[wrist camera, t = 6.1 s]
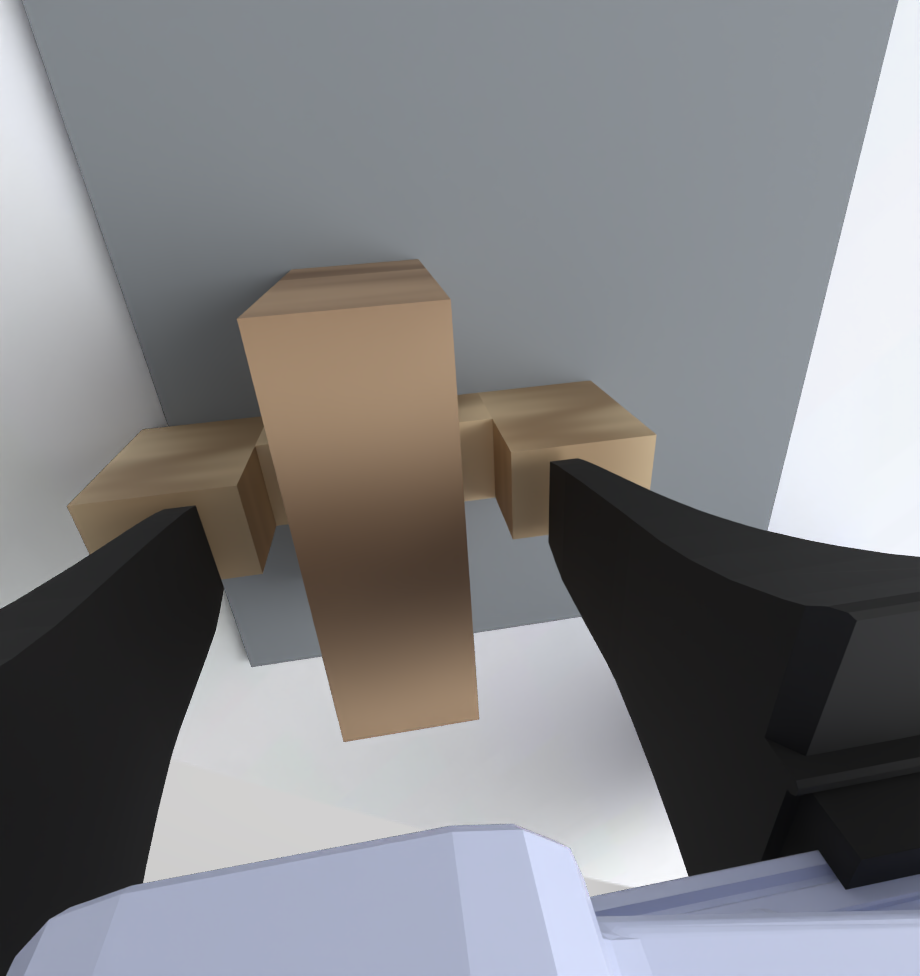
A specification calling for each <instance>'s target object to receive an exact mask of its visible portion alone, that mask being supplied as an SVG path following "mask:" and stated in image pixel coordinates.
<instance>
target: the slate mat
mask: <svg viewBox="0 0 920 976" xmlns="http://www.w3.org/2000/svg"><path fill="white" fill-rule="evenodd" d="M22 3H23V5H24V8H25V11H26V14H27V17H28V20H29V23H30V26H31V29H32V32H33V34H34V37H35V40H36V43H37V46H38V49H39V52H40V55H41V58H42V61H43V64H44V66H45V69H46V72H47V75H48V78H49V81H50V84H51V87H52V90H53V93H54V95H55V98H56V101H57V104H58V107H59V110H60V113H61V116H62V119H63V122H64V124H65V127H66V130H67V133H68V136H69V139H70V142H71V145H72V148H73V151H74V154H75V156H76V159H77V162H78V165H79V168H80V171H81V174H82V177H83V180H84V183H85V185H86V188H87V191H88V194H89V197H90V200H91V203H92V206H93V209H94V212H95V215H96V217H97V220H98V223H99V226H100V229H101V232H102V235H103V238H104V241H105V244H106V246H107V249H108V252H109V255H110V258H111V261H112V264H113V267H114V270H115V273H116V275H117V278H118V281H119V284H120V287H121V290H122V293H123V296H124V299H125V302H126V305H127V307H128V310H129V313H130V316H131V319H132V322H133V325H134V328H135V331H136V334H137V336H138V339H139V342H140V345H141V348H142V351H143V354H144V357H145V360H146V363H147V365H148V368H149V371H150V374H151V377H152V380H153V383H154V386H155V389H156V392H157V395H158V397H159V400H160V403H161V406H162V409H163V412H164V415H165V418H166V421H167V424H168V426H178V425H188V424H197V423H206V422H215V421H224V420H233V419H242V418H252V417H261V412H260V408H259V404H258V400H257V396H256V392H255V389H254V385H253V381H252V377H251V373H250V369H249V365H248V361H247V357H246V353H245V349H244V345H243V341H242V337H241V333H240V329H239V325H238V321H237V318H238V317H239V316H240V315H242V314H243V313H244V312H245V311H246V310H247V309H248V308H249V307H250V306H252V305H253V304H254V303H255V302H256V301H257V300H258V299H259V298H260V297H262V296H263V295H264V294H265V293H266V292H267V291H268V290H269V289H270V288H272V287H273V286H274V285H275V284H276V283H277V282H278V281H279V280H280V279H282V278H283V277H284V276H285V275H286V274H287V273H288V272H289V271H290V270H292V269H304V268H316V267H329V266H341V265H353V264H365V263H377V262H389V261H401V260H413V259H419V261H420V262H421V263H422V264H423V265H424V267H425V268H426V269H427V270H428V272H429V273H430V274H431V275H432V277H433V278H434V279H435V280H436V282H437V283H438V284H439V285H440V287H441V288H442V289H443V290H444V292H445V293H446V294H447V295H448V297H449V298H450V299H451V310H452V325H453V340H454V354H455V369H456V384H457V395H462V394H471V393H480V392H489V391H498V390H508V389H517V388H526V387H535V386H544V385H553V384H562V383H572V382H581V381H590V380H591V381H592V382H593V383H594V384H596V385H597V386H598V387H599V388H600V389H602V390H603V391H604V392H605V393H606V394H608V395H609V396H610V397H611V398H613V399H614V400H615V401H616V402H617V403H619V404H620V405H621V406H622V407H623V408H625V409H626V410H627V411H628V412H630V413H631V414H632V415H633V416H634V417H636V418H637V419H638V420H639V421H640V422H642V423H643V424H644V425H645V426H647V427H648V428H649V429H650V430H651V431H653V432H654V433H655V434H656V444H655V452H654V461H653V469H652V478H651V486H650V490H651V491H653V492H655V493H658V494H660V495H662V496H665V497H667V498H670V499H672V500H675V501H677V502H680V503H682V504H685V505H687V506H690V507H692V508H695V509H698V510H700V511H703V512H706V513H709V514H712V515H715V516H718V517H721V518H724V519H728V520H731V521H734V522H737V523H741V524H744V525H747V526H751V527H755V528H758V529H762V530H766V531H767V530H768V526H769V522H770V518H771V514H772V510H773V505H774V501H775V497H776V493H777V489H778V485H779V481H780V477H781V473H782V469H783V465H784V461H785V457H786V453H787V449H788V445H789V441H790V437H791V433H792V429H793V425H794V421H795V416H796V412H797V408H798V404H799V400H800V396H801V392H802V388H803V384H804V380H805V376H806V372H807V368H808V364H809V360H810V356H811V352H812V348H813V344H814V340H815V336H816V331H817V327H818V323H819V319H820V315H821V311H822V307H823V303H824V299H825V295H826V291H827V287H828V283H829V279H830V275H831V271H832V267H833V263H834V259H835V255H836V251H837V246H838V242H839V238H840V234H841V230H842V226H843V222H844V218H845V214H846V210H847V206H848V202H849V198H850V194H851V190H852V186H853V182H854V178H855V174H856V170H857V166H858V161H859V157H860V153H861V149H862V145H863V141H864V137H865V133H866V129H867V125H868V121H869V117H870V113H871V109H872V105H873V101H874V97H875V93H876V89H877V85H878V81H879V77H880V72H881V68H882V64H883V60H884V56H885V52H886V48H887V44H888V40H889V36H890V32H891V28H892V24H893V20H894V16H895V12H896V8H897V4H898V0H22ZM464 503H465V517H466V532H467V547H468V562H469V577H470V592H471V606H472V621H473V633H478V632H484V631H491V630H497V629H504V628H510V627H517V626H523V625H530V624H536V623H543V622H549V621H556V620H562V619H569V618H575V617H582V616H581V615H580V613H579V611H578V609H577V607H576V605H575V604H574V602H573V600H572V598H571V596H570V594H569V592H568V590H567V589H566V587H565V585H564V583H563V581H562V579H561V576H560V573H559V571H558V568H557V566H556V563H555V560H554V557H553V554H552V551H551V549H550V546H549V543H548V536H549V535H543V536H535V537H528V538H521V539H514V540H513V539H512V536H511V534H510V531H509V529H508V527H507V524H506V522H505V519H504V517H503V515H502V512H501V510H500V508H499V505H498V503H497V500H496V498H488V499H480V500H472V501H465V502H464ZM222 583H223V586H224V589H225V592H226V595H227V598H228V601H229V604H230V607H231V609H232V612H233V615H234V618H235V621H236V624H237V627H238V630H239V633H240V636H241V638H242V641H243V644H244V647H245V650H246V653H247V656H248V659H249V662H250V665H251V667H256V666H262V665H269V664H275V663H282V662H288V661H295V660H301V659H308V658H314V657H321V656H322V654H321V650H320V646H319V642H318V638H317V634H316V630H315V626H314V622H313V618H312V614H311V610H310V606H309V603H308V599H307V595H306V591H305V587H304V583H303V579H302V575H301V571H300V567H299V563H298V559H297V555H296V551H295V547H294V543H293V539H292V535H291V531H290V527H289V524H286V525H279V526H276V529H275V533H274V536H273V540H272V543H271V547H270V550H269V554H268V557H267V561H266V564H265V568H264V571H263V574H258V575H251V576H244V577H236V578H229V579H222Z"/></svg>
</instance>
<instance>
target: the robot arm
mask: <svg viewBox="0 0 920 976" xmlns="http://www.w3.org/2000/svg"><path fill="white" fill-rule="evenodd" d="M548 543H549V546H550V549H551V551H552V554H553V557H554V560H555V563H556V566H557V568H558V571H559V573H560V576H561V579H562V581H563V583H564V585H565V587H566V589H567V590H568V592H569V594H570V596H571V598H572V600H573V602H574V604H575V605H576V607H577V609H578V611H579V613H580V615H581V616H582V618H583V620H584V622H585V624H586V626H587V627H588V629H589V631H590V633H591V635H592V637H593V638H594V640H595V642H596V644H597V646H598V648H599V649H600V651H601V653H602V655H603V657H604V658H605V660H606V662H607V664H608V666H609V668H610V670H611V672H612V674H613V677H614V679H615V681H616V683H617V685H618V688H619V690H620V693H621V695H622V697H623V700H624V702H625V705H626V707H627V710H628V712H629V715H630V717H631V719H632V722H633V724H634V727H635V729H636V732H637V735H638V737H639V740H640V742H641V745H642V748H643V750H644V753H645V755H646V758H647V760H648V763H649V766H650V768H651V771H652V773H653V776H654V779H655V782H656V784H657V787H658V790H659V793H660V796H661V798H662V801H663V804H664V807H665V809H666V812H667V815H668V818H669V821H670V823H671V826H672V829H673V832H674V834H675V837H676V840H677V843H678V846H679V849H680V852H681V855H682V858H683V861H684V864H685V867H686V870H687V873H688V876H689V877H684V878H680V879H675V880H670V881H665V882H660V883H655V884H650V885H646V886H641V887H636V888H631V889H627V890H621V891H616V892H612V893H607V894H602V895H597V896H593V897H590V896H589V893H588V890H587V886H586V883H585V880H584V878H583V876H582V873H581V871H580V869H579V867H578V864H577V862H576V860H575V858H574V855H573V853H572V851H571V849H570V848H568V847H567V846H565V845H563V844H561V843H559V842H557V841H555V840H552V839H550V838H547V837H545V836H542V835H540V834H537V833H535V832H532V831H530V830H527V829H524V828H522V827H519V826H517V825H514V824H490V825H457V826H447V827H441V828H436V829H431V830H425V831H420V832H415V833H409V834H404V835H399V836H393V837H388V838H383V839H377V840H372V841H367V842H362V843H356V844H351V845H345V846H340V847H335V848H330V849H324V850H319V851H313V852H308V853H303V854H297V855H292V856H287V857H281V858H276V859H271V860H265V861H260V862H255V863H249V864H244V865H239V866H234V867H228V868H223V869H217V870H213V871H207V872H201V873H196V874H191V875H185V876H180V877H175V878H169V879H164V880H158V881H153V882H149V883H143V880H144V875H145V869H146V864H147V860H148V855H149V850H150V846H151V841H152V837H153V832H154V827H155V822H156V818H157V813H158V809H159V805H160V800H161V797H162V792H163V788H164V784H165V780H166V776H167V772H168V768H169V764H170V760H171V756H172V753H173V749H174V746H175V743H176V740H177V737H178V734H179V730H180V728H181V725H182V722H183V720H184V717H185V714H186V711H187V709H188V706H189V703H190V701H191V698H192V695H193V692H194V690H195V687H196V684H197V682H198V679H199V676H200V673H201V671H202V668H203V665H204V662H205V660H206V657H207V654H208V651H209V648H210V646H211V643H212V640H213V637H214V634H215V631H216V627H217V622H218V617H219V613H220V607H221V602H222V596H223V590H224V586H223V583H222V580H221V577H220V574H219V572H218V569H217V566H216V563H215V560H214V557H213V554H212V551H211V548H210V545H209V542H208V540H207V537H206V534H205V531H204V528H203V525H202V522H201V519H200V516H199V513H198V511H197V508H196V505H194V506H186V507H178V508H170V509H163V510H161V511H159V512H157V513H155V514H153V515H151V516H149V517H148V518H146V519H144V520H143V521H141V522H139V523H138V524H136V525H135V526H133V527H131V528H130V529H128V530H127V531H125V532H124V533H122V534H121V535H119V536H118V537H116V538H115V539H113V540H112V541H110V542H108V543H107V544H105V545H104V546H102V547H101V548H99V549H98V550H96V551H95V552H93V553H92V554H90V555H89V556H87V557H86V558H84V559H83V560H81V561H80V562H78V563H76V564H75V565H73V566H72V567H70V568H68V569H67V570H65V571H63V572H62V573H60V574H59V575H57V576H55V577H54V578H52V579H50V580H49V581H47V582H46V583H44V584H42V585H41V586H39V587H37V588H36V589H34V590H32V591H31V592H29V593H28V594H26V595H24V596H23V597H21V598H19V599H17V600H16V601H14V602H12V603H10V604H9V605H7V606H5V607H3V608H1V609H0V976H920V557H915V556H905V555H895V554H887V553H880V552H874V551H867V550H861V549H854V548H848V547H842V546H836V545H830V544H825V543H820V542H814V541H809V540H805V539H800V538H796V537H792V536H787V535H783V534H778V533H774V532H770V531H766V530H762V529H758V528H755V527H751V526H747V525H744V524H741V523H737V522H734V521H731V520H728V519H724V518H721V517H718V516H715V515H712V514H709V513H706V512H703V511H700V510H698V509H695V508H692V507H690V506H687V505H685V504H682V503H680V502H677V501H675V500H672V499H670V498H667V497H665V496H662V495H660V494H658V493H655V492H653V491H651V490H649V489H646V488H644V487H642V486H640V485H638V484H636V483H633V482H631V481H629V480H627V479H625V478H623V477H621V476H619V475H616V474H614V473H612V472H610V471H608V470H606V469H604V468H602V467H599V466H597V465H595V464H593V463H590V462H588V461H585V460H582V459H579V458H575V459H567V460H558V461H550V478H549V536H548Z"/></svg>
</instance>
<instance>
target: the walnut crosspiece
mask: <svg viewBox="0 0 920 976" xmlns="http://www.w3.org/2000/svg"><path fill="white" fill-rule="evenodd" d="M237 321H238V325H239V329H240V333H241V337H242V341H243V345H244V349H245V353H246V357H247V361H248V365H249V369H250V373H251V377H252V381H253V385H254V389H255V392H256V396H257V400H258V404H259V408H260V412H261V416H262V420H263V424H264V428H265V432H266V436H267V440H268V444H269V448H270V452H271V456H272V460H273V464H274V468H275V472H276V476H277V480H278V484H279V488H280V492H281V496H282V499H283V503H284V507H285V511H286V515H287V519H288V523H289V527H290V531H291V535H292V539H293V543H294V547H295V551H296V555H297V559H298V563H299V567H300V571H301V575H302V579H303V583H304V587H305V591H306V595H307V599H308V603H309V606H310V610H311V614H312V618H313V622H314V626H315V630H316V634H317V638H318V642H319V646H320V650H321V654H322V658H323V662H324V666H325V670H326V674H327V678H328V682H329V686H330V690H331V694H332V698H333V702H334V706H335V710H336V713H337V717H338V721H339V725H340V729H341V733H342V737H343V741H344V742H347V741H353V740H359V739H365V738H371V737H377V736H383V735H389V734H395V733H401V732H407V731H413V730H419V729H424V728H430V727H436V726H442V725H448V724H454V723H460V722H466V721H472V720H478V719H479V710H478V695H477V680H476V666H475V651H474V636H473V621H472V606H471V592H470V577H469V562H468V547H467V532H466V517H465V503H464V488H463V473H462V458H461V443H460V428H459V414H458V399H457V384H456V369H455V354H454V340H453V325H452V310H451V299H450V298H449V297H448V295H447V294H446V293H445V292H444V290H443V289H442V288H441V287H440V285H439V284H438V283H437V282H436V280H435V279H434V278H433V277H432V275H431V274H430V273H429V272H428V270H427V269H426V268H425V267H424V265H423V264H422V263H421V262H420V261H419V259H413V260H401V261H389V262H377V263H365V264H353V265H341V266H329V267H316V268H304V269H292V270H290V271H289V272H288V273H287V274H286V275H285V276H284V277H283V278H282V279H280V280H279V281H278V282H277V283H276V284H275V285H274V286H273V287H272V288H270V289H269V290H268V291H267V292H266V293H265V294H264V295H263V296H262V297H260V298H259V299H258V300H257V301H256V302H255V303H254V304H253V305H252V306H250V307H249V308H248V309H247V310H246V311H245V312H244V313H243V314H242V315H240V316H239V317H238V318H237Z"/></svg>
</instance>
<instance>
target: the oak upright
mask: <svg viewBox="0 0 920 976" xmlns="http://www.w3.org/2000/svg"><path fill="white" fill-rule="evenodd" d="M457 399H458V414H459V428H460V443H461V458H462V473H463V488H464V502H465V501H472V500H480V499H488V498H496V500H497V503H498V505H499V508H500V510H501V512H502V515H503V517H504V519H505V522H506V524H507V527H508V529H509V531H510V534H511V536H512V539H513V540H514V539H521V538H528V537H535V536H543V535H549V478H550V461H558V460H567V459H575V458H579V459H582V460H585V461H588V462H590V463H593V464H595V465H597V466H599V467H602V468H604V469H606V470H608V471H610V472H612V473H614V474H616V475H619V476H621V477H623V478H625V479H627V480H629V481H631V482H633V483H636V484H638V485H640V486H642V487H644V488H646V489H649V490H650V486H651V478H652V469H653V461H654V452H655V444H656V434H655V433H654V432H653V431H651V430H650V429H649V428H648V427H647V426H645V425H644V424H643V423H642V422H640V421H639V420H638V419H637V418H636V417H634V416H633V415H632V414H631V413H630V412H628V411H627V410H626V409H625V408H623V407H622V406H621V405H620V404H619V403H617V402H616V401H615V400H614V399H613V398H611V397H610V396H609V395H608V394H606V393H605V392H604V391H603V390H602V389H600V388H599V387H598V386H597V385H596V384H594V383H593V382H592V381H591V380H590V381H581V382H572V383H562V384H553V385H544V386H535V387H526V388H517V389H508V390H498V391H489V392H480V393H471V394H462V395H457ZM194 505H196V508H197V511H198V513H199V516H200V519H201V522H202V525H203V528H204V531H205V534H206V537H207V540H208V542H209V545H210V548H211V551H212V554H213V557H214V560H215V563H216V566H217V569H218V572H219V574H220V577H221V580H222V579H229V578H236V577H244V576H251V575H258V574H263V571H264V568H265V564H266V561H267V557H268V554H269V550H270V547H271V543H272V540H273V536H274V533H275V529H276V526H279V525H286V524H289V523H288V519H287V515H286V511H285V507H284V503H283V499H282V496H281V492H280V488H279V484H278V480H277V476H276V472H275V468H274V464H273V460H272V456H271V452H270V448H269V444H268V440H267V436H266V432H265V428H264V424H263V420H262V416H261V417H252V418H242V419H233V420H224V421H215V422H206V423H197V424H188V425H178V426H169V427H160V428H151V429H142V430H141V431H140V432H139V433H138V434H137V435H136V436H135V437H134V438H133V439H132V440H131V441H130V443H129V444H128V445H127V446H126V447H125V448H124V449H123V450H122V451H121V452H120V453H119V454H118V455H117V456H116V457H115V458H114V459H113V460H112V461H111V462H110V463H109V464H108V465H107V466H106V467H105V468H104V469H103V470H102V471H101V472H100V473H99V474H98V475H97V476H96V477H95V478H94V479H93V480H92V481H91V482H90V483H89V484H88V485H87V486H86V487H85V488H84V489H83V490H82V491H81V492H80V493H79V494H78V495H77V496H76V497H75V498H74V499H73V500H72V501H71V502H70V503H69V504H68V505H67V508H68V510H69V512H70V514H71V516H72V518H73V520H74V522H75V525H76V527H77V529H78V531H79V533H80V535H81V537H82V539H83V541H84V543H85V546H86V548H87V550H88V552H89V554H92V553H93V552H95V551H96V550H98V549H99V548H101V547H102V546H104V545H105V544H107V543H108V542H110V541H112V540H113V539H115V538H116V537H118V536H119V535H121V534H122V533H124V532H125V531H127V530H128V529H130V528H131V527H133V526H135V525H136V524H138V523H139V522H141V521H143V520H144V519H146V518H148V517H149V516H151V515H153V514H155V513H157V512H159V511H161V510H163V509H170V508H178V507H186V506H194Z"/></svg>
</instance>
